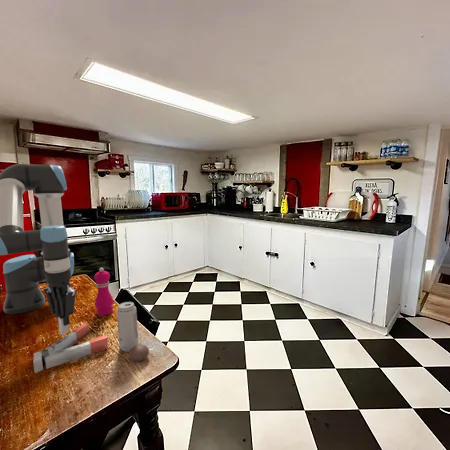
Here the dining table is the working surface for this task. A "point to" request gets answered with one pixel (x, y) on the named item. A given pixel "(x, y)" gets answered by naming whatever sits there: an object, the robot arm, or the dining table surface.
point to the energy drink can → (127, 326)
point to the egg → (138, 353)
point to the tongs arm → (70, 339)
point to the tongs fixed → (68, 353)
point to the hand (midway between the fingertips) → (64, 332)
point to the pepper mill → (103, 293)
